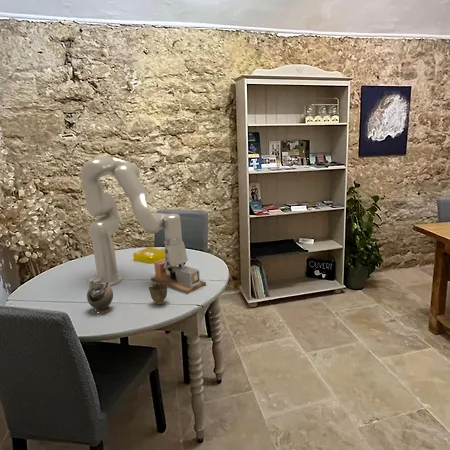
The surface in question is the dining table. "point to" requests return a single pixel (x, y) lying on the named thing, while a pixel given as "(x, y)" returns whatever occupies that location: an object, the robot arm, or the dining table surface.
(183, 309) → the dining table surface
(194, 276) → the tube
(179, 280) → the metal sleeve
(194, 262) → the dining table surface
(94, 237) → the robot arm
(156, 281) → the walnut board
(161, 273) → the terracotta socket
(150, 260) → the element tile
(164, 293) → the cup
